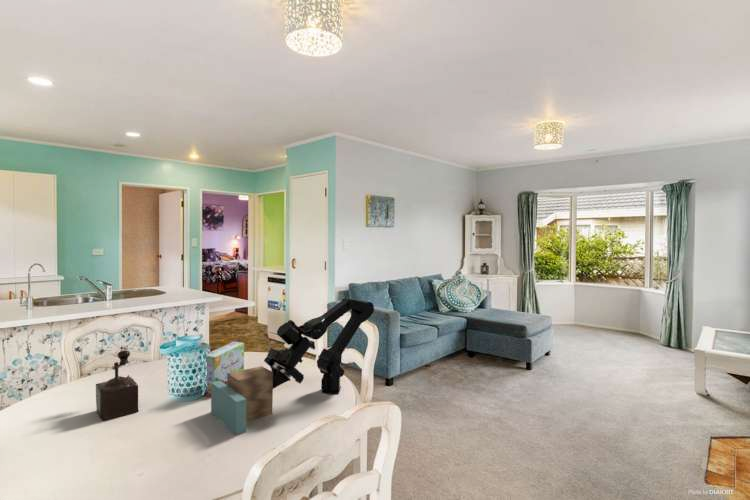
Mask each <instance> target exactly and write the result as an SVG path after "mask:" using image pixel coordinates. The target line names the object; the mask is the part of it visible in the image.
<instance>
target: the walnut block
mask: <svg viewBox="0 0 750 500" xmlns="http://www.w3.org/2000/svg"><path fill="white" fill-rule="evenodd" d="M227 386H229V387H230V388H232V389H233V390H234V391H236V392H237V393H239V394H240V395H241V396H243V397H244V398H246V423H247V422H250V421H253V420H257V419H260V418H263V417H267V416H270V415H273V402H274V400H273V397H274V395H273V394H274V393H273V392H274V391H273V390H274V389H273V372H272V370H271V369H268V368H266V367H264V366H262V365H261V366H260V365H259V366H255V367H251V368H246V369H244V370H241V371H236V372H232V373H227Z"/></svg>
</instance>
